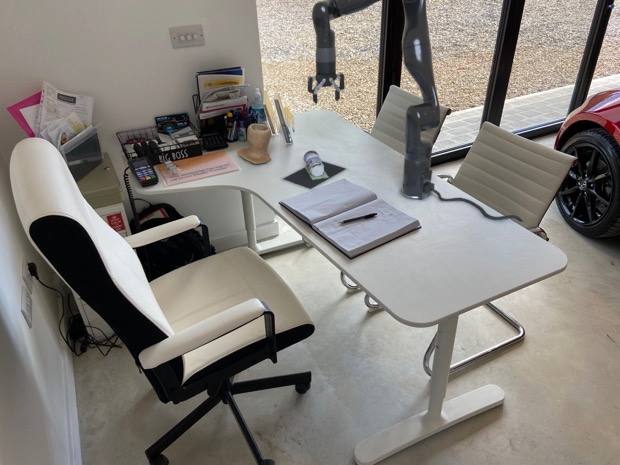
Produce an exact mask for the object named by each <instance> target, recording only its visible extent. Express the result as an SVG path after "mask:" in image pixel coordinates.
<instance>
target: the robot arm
mask: <svg viewBox="0 0 620 465" xmlns="http://www.w3.org/2000/svg"><path fill="white" fill-rule="evenodd" d="M381 1H382V0H321V1H317V2H316V3H315V4H314V5H313V7H312V11H311V20H312V25H313V29H314V32H315V75H314V76H311V75H308V76H307V92H308V93H309V94H312V102H313V103H314V104H318V92H319V91H320V90H321V88H326V87H329V88H330V87H333V88H334V89H335V90H334V100H335V102H339V100H340V98H341V91H343V90H345V85H346V84H345V74H344V72H343V73H342V72H341V71H340V72H339V73H337V51H336V33H335V31H334V30H335V29H333V28H332V27H331V21H334V20H336V19H340V18H341V17H344V16H350V15H353V14H356V13H359V12H362V11H364V10H366V9H368V8H370V7H371V6H373V5H374V4H376V3H378V2H381ZM402 5H403V11H404V12H403V13H404V27H403V32H402V39H401V51H402V59H403V64H404V67H405V69H406V71H407V73H408V74H409V75H410V77H411V78H412V79H413V80H414V82H415V83H416V85H417V87H418V88H419V90H420V94H421V97H422V102H420V103H414V104H410V105H408V107H407V108H406V110H405V112H404V113H405V114H404V157H403V169H402V170H403V172H402V174H403V175H402V182H401V195H402V196H404V197H405V198H407V199H412V200H424V199H425V198H426V197H427V196H429V195H430V194H431V193H435V194H436V195H437V197H438V199H439V200H440V201H442V202H457V201H461V202H465V203H468V204H470V205H472V206H474V207H475V208H477V209H478V210H479V211H480V212H481V213H482V214H483V216H485V217H486V218H488V219H491V220H494V221H495V220H497V221H499V220H506V219H514V220H517V221H518V222H520V223H523V222H524V221H523V219H522V218H521V217H519V216H517V215H514V214H507V215H502V216H494V215H490V214H489V213H487V212H486V211H485V209H484V208H483V207H482V206H481V205H479V204H477V203H476V202H474V201H472V200H470V199H469V198H464V197H452V198H444V197H442V194H441V193H440V192H439V191H438V190H437V189H435V183H433V182H432V178H433V177H432V176H433V170H432V169H431V163H432V156H433V155H432V154H433V147H434V146H433V145H434V144H433V141H432V140H431V139H429V138H426V137H423V136H421V132H426V131H432V130H436V129H438V128H439V127H440V124H441V121H442V120H441V119H442V114H441V107H440V101H439V97H438V91H437V86H436V82H435V80H436V79H435V72H434V65H433V52H432V45H431V37H430V29H429V21H428V14H427V13H428V12H427V0H402ZM337 79H338V81H339V86H338V84H337V83H336V82H335V81H336V80H337ZM314 82H316V83H315V85H314V87H313V83H314Z"/></svg>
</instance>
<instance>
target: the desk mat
mask: <svg viewBox="0 0 620 465" xmlns="http://www.w3.org/2000/svg"><path fill="white" fill-rule="evenodd" d="M321 161H322V163H323V165H324V172H323V174H322V175H320V176H313V175H312V174H311V173H310V172H309V170H308V167H307V166H305V167H303V168H301V169H299V170H297V171H295V172H293V173H291V174H289V175H288V176H285V177H283V181H287V182H290V183H293V184H296V185H298V186H301V187H304V188H307V189H309V190H311V189H313V188H315V187H317V186H319V185H320V184H322V183H324V182H325V181H327V180H329V179H331V178H333V177H335V176H336V175H338V174H339V173H342V172H344V171H346V167H343V166H340V165H337V164H333V163H329V162H327V161H323V160H321Z"/></svg>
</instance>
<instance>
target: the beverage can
mask: <svg viewBox="0 0 620 465" xmlns="http://www.w3.org/2000/svg"><path fill="white" fill-rule="evenodd" d="M303 161H304V163H305V165H306V167H308V170H309V172H310V173H311V174H312V175H313V176H320V175H322V174H323V172H324V165H323V163H322V161H323V160H322V159H321V158H320V156H319V153H318V151H316V150H307V152H305V153H304V155H303Z"/></svg>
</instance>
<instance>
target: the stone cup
mask: <svg viewBox="0 0 620 465" xmlns="http://www.w3.org/2000/svg"><path fill="white" fill-rule="evenodd" d="M246 131H247V132H246V137H247V142H248V146H247V147H243V148H239V149H238V150H237V151H236V154H237V156H240V158H243V159H244V160H246V161H248V162H249V163H252V164H255V165H259V164H264V163H267V162H269V161H271V159H272V158H271V156H270V155H269V154H268V148H269V144H270V142H271V138H272V129H271V128H270V127H269V126H268V125H265V124H263V123H251V124H250V125H249V126H248V127H247V130H246Z"/></svg>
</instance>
